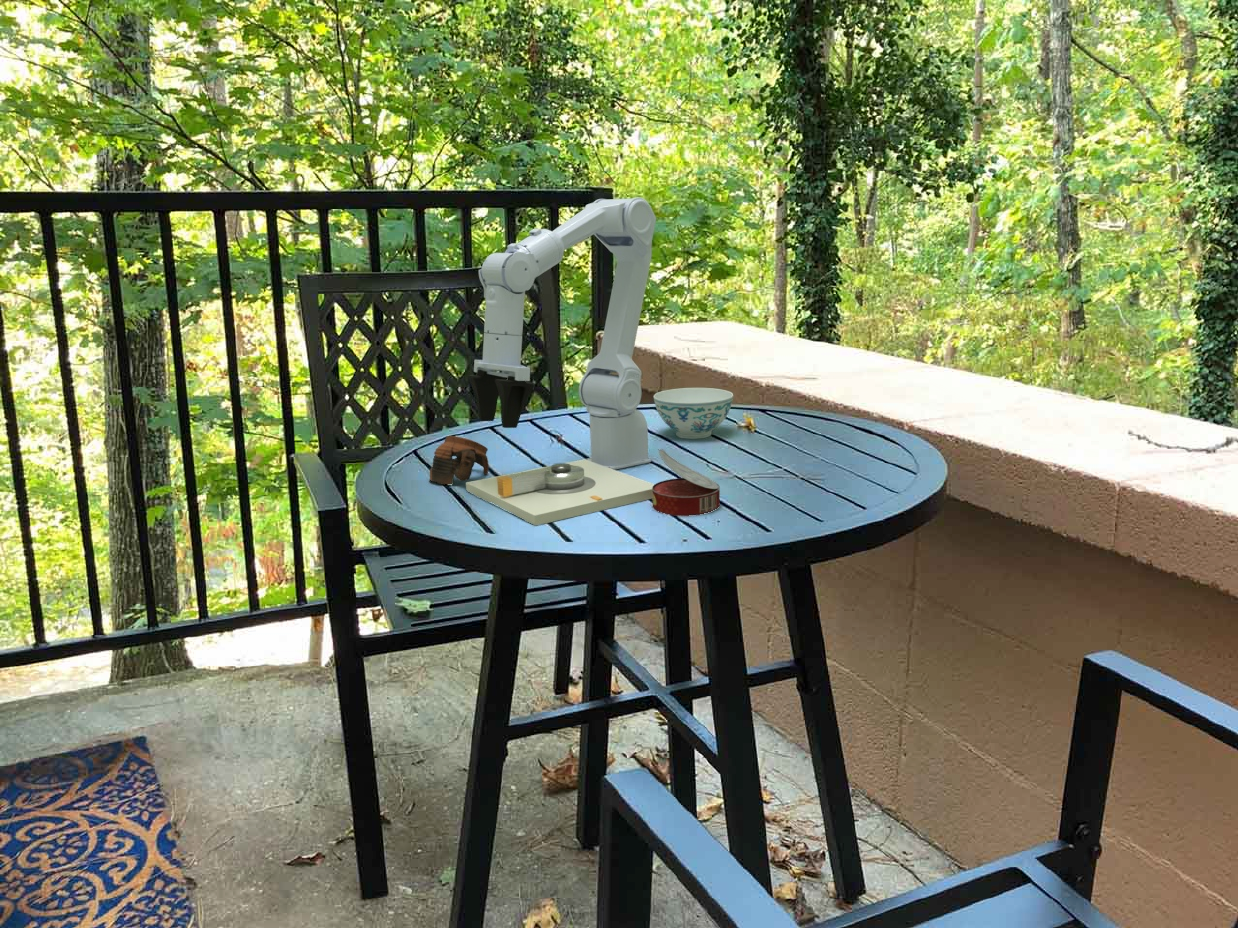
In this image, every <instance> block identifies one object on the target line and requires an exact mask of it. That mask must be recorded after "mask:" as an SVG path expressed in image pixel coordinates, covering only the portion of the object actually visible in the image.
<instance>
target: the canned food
mask: <svg viewBox="0 0 1238 928" xmlns="http://www.w3.org/2000/svg"><path fill="white" fill-rule="evenodd" d="M657 450H658V453H659V457H660V458H661V460H662V461H663V462H664V463H665V465H666V466H667V467H668V468H669V469H671V471H673V473H675V474H676V475H677V476H679V477H680V478H671V479H665V480H661V481H658V482H657V483H654V484H655V485H654V486H653V487H652V495H653V499H652V508H653V509H654V511H656V512H658V511H659V512H658V513H660V512H662V513H661V514H663V513H665V514H664V515H668V514H670V515H669V516H677V517H690V516H689V515H696V516H701V515H700V514H703V515H705V514H704V513H708V512H711V511H713V510H715V509H717V508H718V507H719V506H720V507H721V504H720V502H721V501H720V499H721V498H720V497H721V496H720V495H721V493H720V492H721V491H720V489H721V487H720V485H719V483H717V482H716V481H713V480H712V479H711V478H710V477H708V476H705V475H703V473H700V472H699V471H696V470H695V469H692V468H690V467H689V466H687V465H685V464H682V463H681V462H679V461H678V460H677V459H675V458H673V457H672V456H671V455H669V454H668V453H667V452H666V450H665V449H663V448H661V449H657ZM720 507H719V508H720ZM719 508H718V509H719ZM718 509H717V510H718ZM713 512H714V511H713ZM711 513H712V512H711ZM708 514H709V513H708Z"/></svg>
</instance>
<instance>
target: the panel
mask: <svg viewBox="0 0 1238 928" xmlns="http://www.w3.org/2000/svg"><path fill="white" fill-rule="evenodd" d="M585 459H586V458H584V459H579V460H573V461H568V462H565V463H566V464H570V465H574V466H579V467H582V468H583V469H584V484H583V485H582V486H580V487H577V488H572V489H565V490H551V489H545V488H543V489H539V490H534V491H529V492H524V493H519V494H515V495H510V496H505V497H503V496H501V495H499V494H498V485H497V477H501V476H506V475H511V474H516V473H521V472H527V471H532V470H537V469H542V468H545V467H549V466H550V465H548V466H543V467H538V468H533V469H528V470H523V471H518V472H517V471H516V472H512V473H508V474H502V475H498V476H492V477H486V478H482V479H477V480H473V481H472V480H471V481H467V482H465V488H466V490H467V491H469V492H470V493H473V494H474V495H476V496H478V497H480V498H482V499H484V500H486V501H488V502H492V503H494V504H495V505H498V506H499V507H501V508H503V509H505V510H507V511H509V512H511V513H513V514H514V515H516V516H518V517H520V518H522V519H524V520H526V521H527V522H526V521H525V522H526V523H528V522H529V523H528V524H530V523H531V524H530V525H532V524H533V526H540V525H544V524H548V523H552V522H553V521H554V522H557V521H561V520H566V519H570V518H574V517H579V516H583V515H584V516H585V515H587V514H591V513H596V512H601V511H605V510H609V509H614V508H617V507H621V506H626V505H631V504H634V503H639V502H640V503H641V502H643V501H647V500H653V495H652V487H653V486H654V485H655V484H656V483H653V482H650V481H646V480H644V479H641V478H638V477H635V476H632V475H630V474H627V473H625V472H621V471H619V470H617V469H615V470H613V469H610V468H608V467H605V466H602V465H599V464H596V463H594V462H591V461H588V460H585ZM466 490H465V491H466ZM470 493H469V494H470ZM474 495H473V496H474ZM476 496H475V497H476ZM478 497H477V498H478ZM480 498H479V499H480ZM482 499H481V500H482ZM484 500H483V501H484ZM486 501H485V502H486ZM488 502H487V503H488ZM514 515H513V516H514ZM516 516H515V517H516ZM518 517H517V518H518ZM520 518H519V519H520ZM522 519H521V520H522ZM524 520H523V521H524Z"/></svg>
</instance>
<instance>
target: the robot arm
mask: <svg viewBox="0 0 1238 928" xmlns="http://www.w3.org/2000/svg"><path fill="white" fill-rule="evenodd" d="M656 222H657V216H656V215H655V213H654V210H653V209H652V207H651V205H650V203H649V202H648V201H647V200H646V199H645V198H643V197H640V196H639V197H632V198H613V199H607V198H599V199H595V201H593V202H591V203H588V204H586V205H585V206H584V209H582V210H581V211H579V212H578V213H576V214H575V215H574V216H572V217H570V218H569V219H567V220H566V221H565V222H563V223H562V224H561V225H559V226H557V227H556V228H555V229H554V230H550V229H547V228H533V229H531V230H529V232H528V234H529V236H527V237H525V238H523V239H522V240H520V241H519V242H517V243H515V242H514V243H510V244H508V245H506V248H507V249H505V251H504V252H493V253H490V255H487V257H486V258H485V260H484V261H483V263H482V266H481V268H480V269H478V277H479V281H480V283H481V285H482V287H483V298H484V299H485V307H484V325H483V326H484V328H483V347H482V359H474V361H473V362H474V364H473V372H474V373H475V374H468V375H467V380H468V382H469V384H470V385H471V388H472V390H473V393H474V398H475V401H476V407H477V414H478V419H479V421H480V422H494V419H495V417H496V413H497V405H498V400H499V401H500V419H501V425H502V428H505V429H512V428H513V429H517V428H518V426H519V425H518V424H519V422H520V418H521V416H522V415H521V414H522V411H523V408H524V406H525V404H526V402H527V399H528V398H529V396H530V394H531V393H532V391H533V390H534V389H535V383H534V382H531V379H530V378H531V367H527V366H525V365H522V364H521V363H522V361H521V359H522V347H523V345H522V344H523V326H524V312H525V309H524V308H525V298H526V297H525V296H526V295H525V294H526V291H529V290H530V289H531V288H532V286H533V285H534V282H535V279H536V278H537V277H539V276H541V275H542V274H543V273H545V272H547V271H548V270H550V269H551V268H553V267H554V266H556V265H558V264H559V263H560V262H562V260H563V257H564V254H565V253H564V251H565V250H568V249H569V248H571V247H573V246H575V245H576V244H578V243H580V242H582V241H584V240H586V239H589V237H591V236H593V235H594V236H595V237H596V238H597V240H599V241H600V242H601V243H602V245H604V246H605V247H606V248H607V249H608V251H609V252H610V253H612V254H613V256H614V257H615V259H616V262H617V263H616V267H615V272H614V277H613V283H612V288H611V294H610V299H609V304H608V309H607V314H606V319H605V325H604V329H603V334H602V341H601V345H600V351H599V353H598V354H597V355H595V356H594V357H593V358H592V359H591V360H590V361H588V363H587V367H586V371H585V373H584V375H583V376H582V377H581V380H580V382H579V385H578V396H579V400H580V401H581V403H582V404H583V405H584V406H585V407H586V413H588V414H589V430H590V431H589V435H590V437H589V438H590V439H589V440H590V454H591V455H590V457H588V458H584V459H585V460H588V461H591V462H594V463H596V464H599V465H602V466H605V467H608V468H610V469H613V470H619V469H625V468H630V467H635V466H639V465H643V464H648V463H651V462H652V459H651V458H649V436H648V435H649V433H648V431H649V430H648V423H647V418H646V417H645V414H644V413H643V412H642V411H640V409H637V408H638V407H639V405H640V403H641V398H642V385H641V381H642V375H643V372H642V371H641V369H640V368H639V367H638V365H637V364H636V363H635V362H634V360H633V354H634V348H635V344H636V339H637V333H638V329H639V324H640V318H641V313H642V308H643V302H644V298H645V293H646V287H647V283H648V282H647V281H648V277H649V272H650V266H651V261H652V249H653V247H652V241H653V238H654V237H653V236H654V233H655V226H656V224H657V223H656ZM500 371H501V372H500ZM614 373H616V374H614ZM506 378H507V379H506Z"/></svg>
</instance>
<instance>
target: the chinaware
mask: <svg viewBox="0 0 1238 928" xmlns="http://www.w3.org/2000/svg"><path fill="white" fill-rule="evenodd" d="M733 400H734V393H733V392H731V391H729V390H725V389H721V388H713V387H711V388H710V387H683V388H680V387H679V388H674V389H673V388H672V389H666V390H662V391H658V392H656V393H655V394H653V401H654V405H655V408H656V411H657V413H658V415H659V417H660V418H661V420H662V421H663V422H664V424H665V425H667V426H668V428H670V429H672V430H674V431H675V435H676V436H677V437H678V438H681V439H691V440H692V439H694V440H695V439H697V440H699V439H704V438H708V437H711V436H712V434H713V433H712V431H713V430H715V429H716V428H717V427H719V426H720V425H721V424H723V422H724V421H725V419H726V418H727V416H728V415H729V413H730V410H731V407H732V404H733Z"/></svg>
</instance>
